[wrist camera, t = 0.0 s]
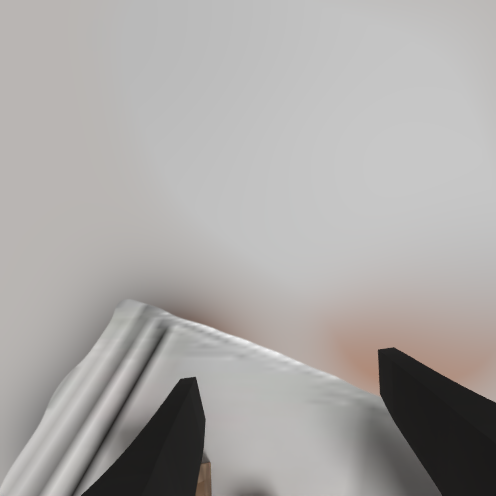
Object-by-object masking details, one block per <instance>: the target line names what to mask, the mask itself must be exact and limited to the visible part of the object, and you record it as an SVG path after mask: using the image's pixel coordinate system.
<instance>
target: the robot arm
mask: <svg viewBox="0 0 496 496" xmlns="http://www.w3.org/2000/svg"><path fill="white" fill-rule="evenodd" d="M378 360H379V382H380V395H381V397H382V399H383V401H384V403H385V405H386V407H387V409H388V411H389V413H390V415H391V416H392V418H393V420H394V422H395V423H396V425H397V427H398V428H399V430H400V431H401V433H402V434H403V436H404V437H405V439H406V440H407V442H408V443H409V445H410V446H411V448H412V449H413V451H414V453H415V454H416V456H417V457H418V459H419V460H420V462H421V463H422V465H423V466H424V468H425V469H426V471H427V472H428V474H429V475H430V477H431V478H432V480H433V481H434V483H435V484H436V486H437V487H438V489H439V491H440V492H441V494H442V495H443V496H496V403H495V402H493V401H491V400H489V399H487V398H485V397H483V396H481V395H479V394H477V393H475V392H473V391H471V390H469V389H467V388H465V387H463V386H461V385H460V384H458V383H456V382H454V381H452V380H450V379H448V378H447V377H445V376H443V375H441V374H439V373H438V372H436V371H434V370H432V369H431V368H429V367H427V366H425V365H424V364H422V363H420V362H419V361H417V360H415V359H413V358H412V357H410V356H408V355H407V354H405V353H403V352H401V351H399V350H397V349H396V348H394V347H393V348H387V349H380V350H378ZM205 420H206V419H205V415H204V411H203V406H202V402H201V397H200V393H199V389H198V384H197V380H196V377H191V378H184V379H180V380H179V382H178V383H177V384H176V386H175V387H174V388H173V390H172V391H171V393H170V394H169V395H168V397H167V398H166V400H165V401H164V402H163V404H162V405H161V406H160V408H159V409H158V410H157V412H156V413H155V414H154V416H153V417H152V418H151V420H150V421H149V422H148V424H147V425H146V426H145V427H144V429H143V430H142V431H141V432H140V434H139V435H138V436H137V437H136V438H135V440H134V441H133V442H132V443H131V445H130V446H129V447H128V448H127V449H126V450H125V452H124V453H123V454H122V455H121V456H120V457H119V458H118V459H117V460H116V461H115V462H114V464H113V465H112V466H111V467H110V468H109V469H108V470H107V471H106V472H105V473H104V474H103V475H102V476H101V477H100V478H99V479H98V480H97V481H96V482H95V483H94V484H93V485H92V486H91V487H90V488H89V489H88V490H86V491H85V492H84V493H83V494H82V495H81V496H195V494H196V489H197V483H198V477H199V472H200V466H201V460H202V455H203V448H204V436H205Z"/></svg>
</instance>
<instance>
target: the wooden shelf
mask: <svg viewBox="0 0 496 496" xmlns="http://www.w3.org/2000/svg"><path fill="white" fill-rule="evenodd" d="M195 496H212V495H211V463H210V462H209V463H202V464H201V466H200V472H199V477H198V483H197V489H196V494H195Z"/></svg>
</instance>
